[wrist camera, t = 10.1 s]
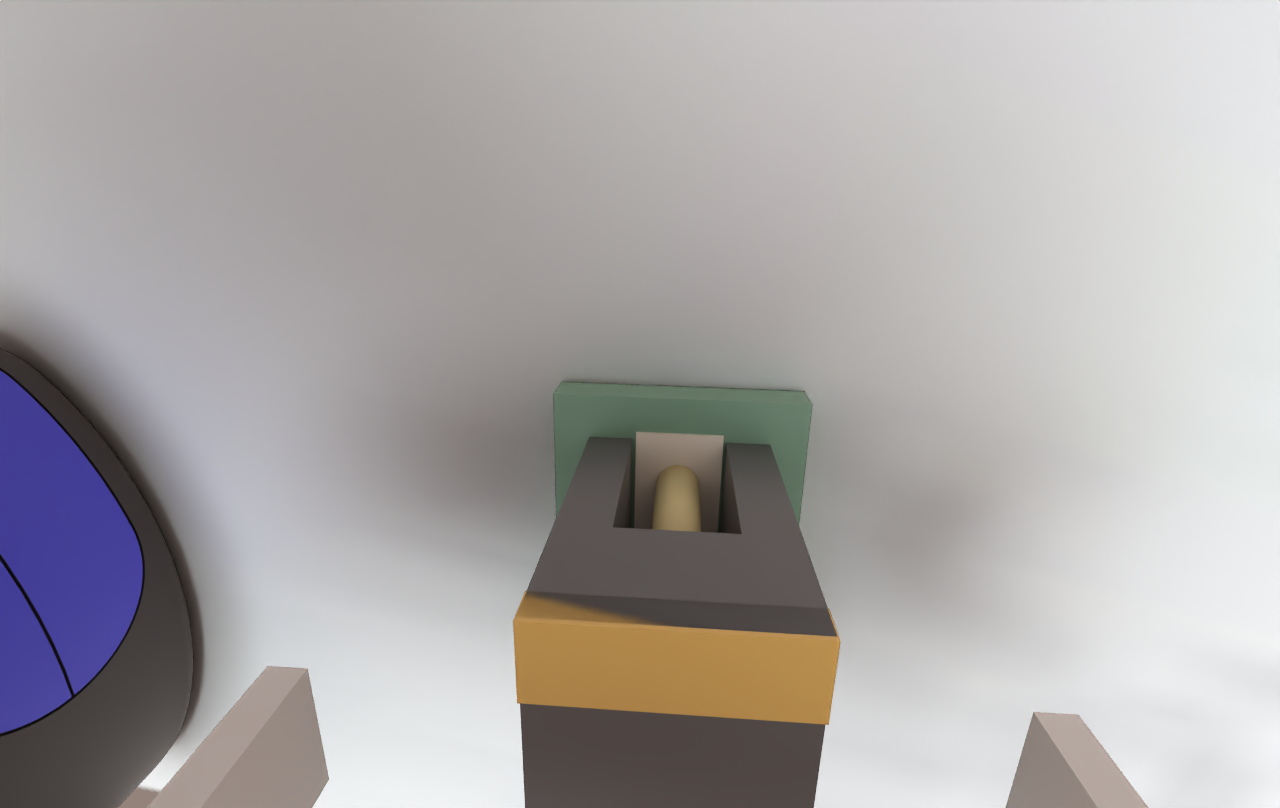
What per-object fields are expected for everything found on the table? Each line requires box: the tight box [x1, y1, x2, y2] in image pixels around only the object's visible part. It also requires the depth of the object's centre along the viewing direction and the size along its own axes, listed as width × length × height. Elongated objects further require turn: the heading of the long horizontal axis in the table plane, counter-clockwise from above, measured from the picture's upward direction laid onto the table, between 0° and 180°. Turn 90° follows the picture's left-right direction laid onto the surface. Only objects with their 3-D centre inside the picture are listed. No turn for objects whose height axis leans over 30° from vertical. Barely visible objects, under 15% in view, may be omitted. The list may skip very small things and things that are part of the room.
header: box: [553, 382, 812, 533], centre depth 17 cm, size 10×7×6 cm
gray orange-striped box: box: [513, 437, 840, 808], centre depth 15 cm, size 8×5×8 cm, turn 179°
